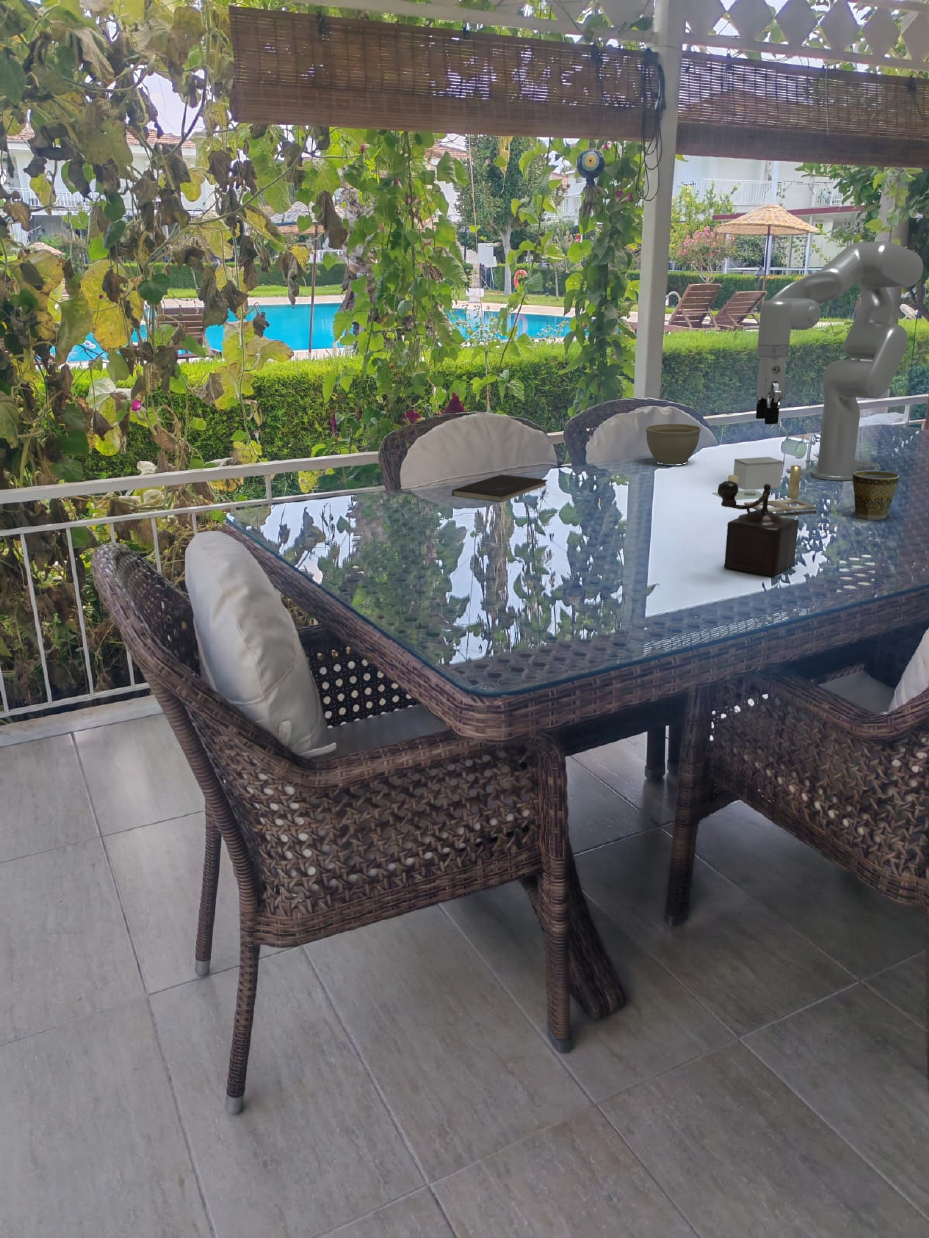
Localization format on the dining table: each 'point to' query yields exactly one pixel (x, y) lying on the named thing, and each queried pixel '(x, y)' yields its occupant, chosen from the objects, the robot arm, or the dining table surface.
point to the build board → (787, 507)
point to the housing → (758, 472)
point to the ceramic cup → (873, 493)
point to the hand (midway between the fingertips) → (766, 421)
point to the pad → (743, 494)
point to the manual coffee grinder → (758, 536)
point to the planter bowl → (672, 442)
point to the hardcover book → (499, 488)
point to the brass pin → (794, 481)
